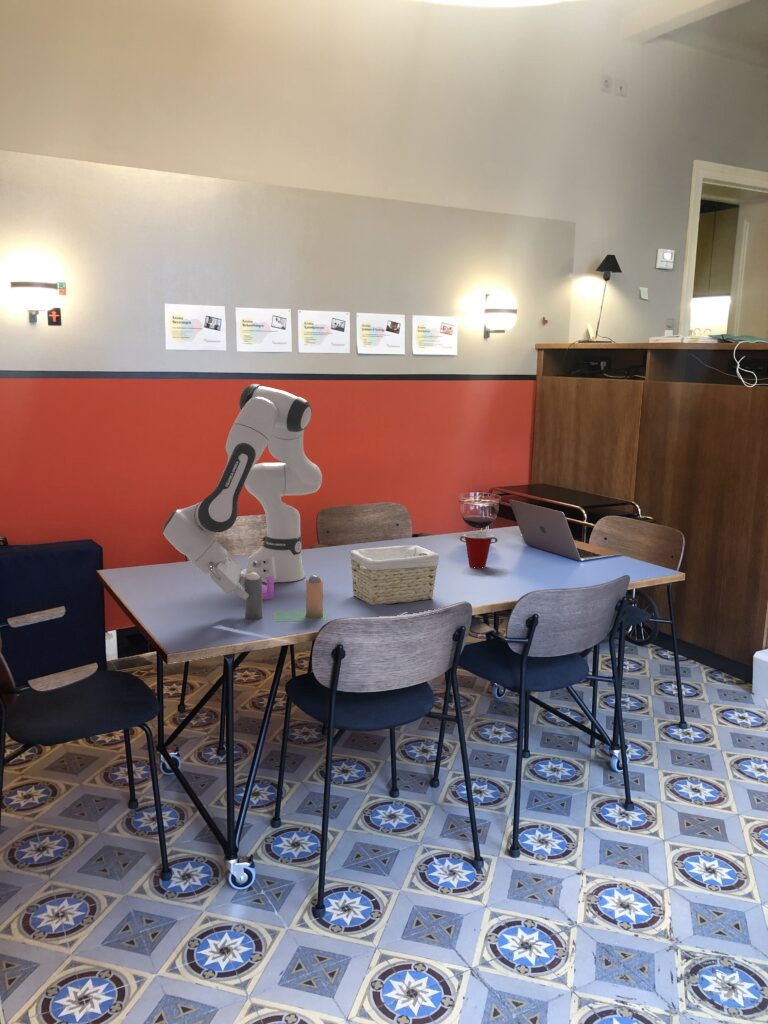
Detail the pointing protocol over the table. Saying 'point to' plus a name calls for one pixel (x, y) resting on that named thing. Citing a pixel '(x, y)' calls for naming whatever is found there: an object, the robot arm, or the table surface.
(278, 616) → the green card
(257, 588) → the charcoal tube
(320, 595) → the orange cylinder
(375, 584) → the storage basket
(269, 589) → the bracket
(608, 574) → the table surface
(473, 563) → the plastic cup
